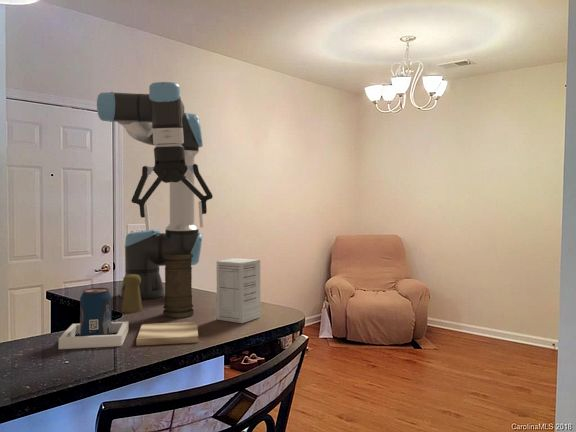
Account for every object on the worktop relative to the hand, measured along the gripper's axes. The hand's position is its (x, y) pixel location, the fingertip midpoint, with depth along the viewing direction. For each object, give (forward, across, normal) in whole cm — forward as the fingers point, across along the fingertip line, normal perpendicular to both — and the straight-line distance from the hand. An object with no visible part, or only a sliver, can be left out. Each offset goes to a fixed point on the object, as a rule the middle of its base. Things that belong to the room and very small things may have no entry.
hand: (175, 228), depth 124 cm
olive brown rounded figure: (+28, -17, +20) cm, 39 cm away
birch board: (+25, -3, -10) cm, 27 cm away
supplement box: (+29, +15, +6) cm, 33 cm away
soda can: (+24, -20, -11) cm, 33 cm away
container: (+28, -2, +13) cm, 31 cm away
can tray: (+24, -20, -11) cm, 33 cm away
